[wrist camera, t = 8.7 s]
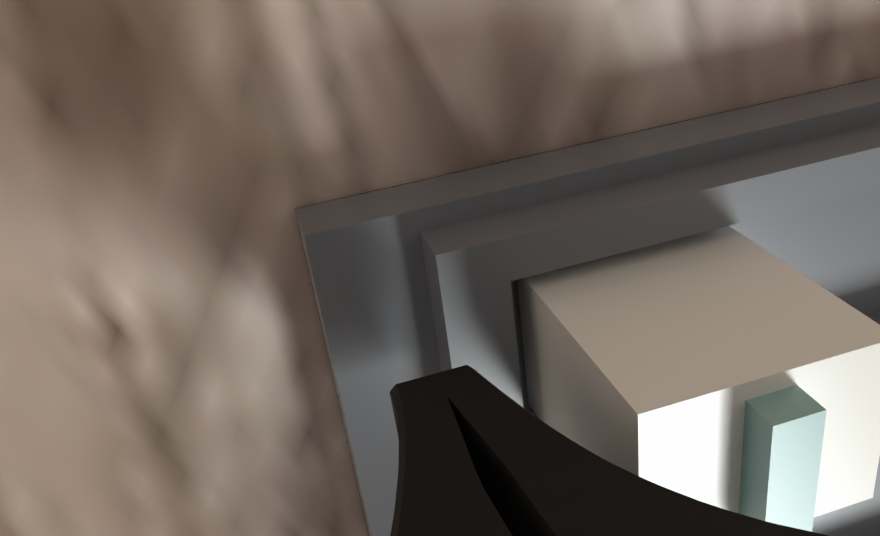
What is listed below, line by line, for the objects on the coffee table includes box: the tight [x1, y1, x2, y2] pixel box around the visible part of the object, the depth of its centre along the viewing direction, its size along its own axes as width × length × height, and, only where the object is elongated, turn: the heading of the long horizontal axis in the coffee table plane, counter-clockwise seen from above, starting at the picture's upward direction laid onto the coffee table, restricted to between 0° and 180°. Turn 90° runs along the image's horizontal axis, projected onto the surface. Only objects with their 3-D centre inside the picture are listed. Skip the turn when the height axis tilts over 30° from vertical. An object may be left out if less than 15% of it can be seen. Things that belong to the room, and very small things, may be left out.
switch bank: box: [295, 77, 880, 536], centre depth 18 cm, size 13×20×2 cm, turn 97°
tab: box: [517, 226, 880, 532], centre depth 13 cm, size 3×4×5 cm
